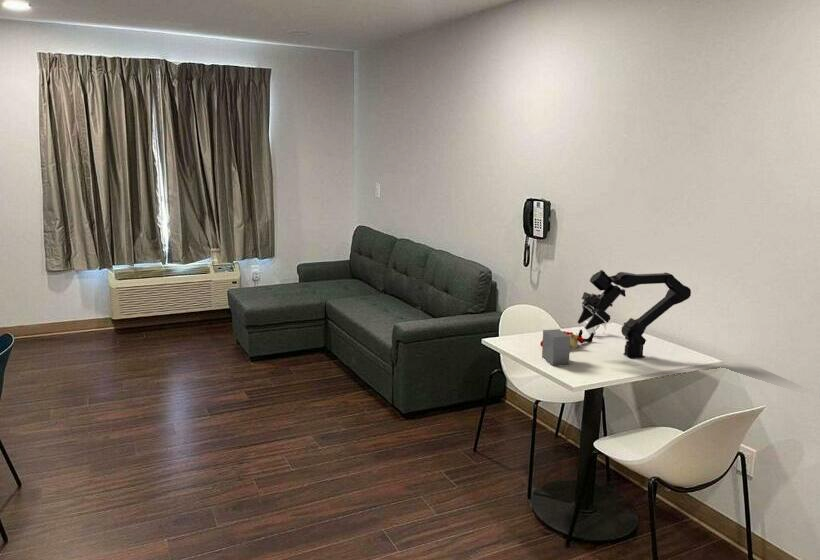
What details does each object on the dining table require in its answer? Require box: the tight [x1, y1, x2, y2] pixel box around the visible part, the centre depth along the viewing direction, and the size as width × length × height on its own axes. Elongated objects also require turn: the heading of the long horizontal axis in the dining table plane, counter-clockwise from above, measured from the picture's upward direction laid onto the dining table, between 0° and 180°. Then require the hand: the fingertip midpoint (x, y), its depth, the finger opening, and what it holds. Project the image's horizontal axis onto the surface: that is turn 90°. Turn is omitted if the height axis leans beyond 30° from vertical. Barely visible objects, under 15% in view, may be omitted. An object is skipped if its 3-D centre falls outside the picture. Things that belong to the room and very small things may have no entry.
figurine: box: [539, 328, 595, 347], centre depth 283 cm, size 12×9×30 cm
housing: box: [541, 328, 571, 367], centre depth 261 cm, size 7×11×12 cm, turn 11°
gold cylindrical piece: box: [569, 333, 578, 350], centre depth 261 cm, size 8×6×6 cm
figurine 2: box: [582, 320, 608, 336], centre depth 300 cm, size 8×12×10 cm
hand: (582, 325), depth 264 cm, fingers open, 9 cm apart
